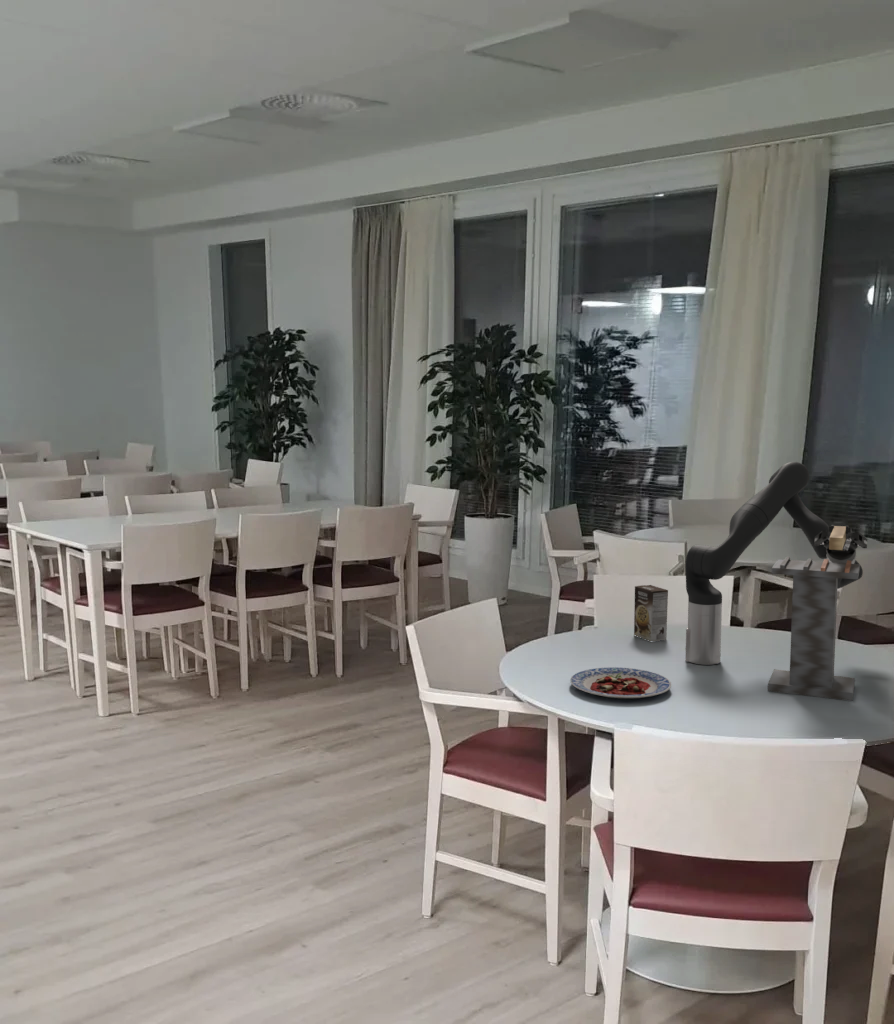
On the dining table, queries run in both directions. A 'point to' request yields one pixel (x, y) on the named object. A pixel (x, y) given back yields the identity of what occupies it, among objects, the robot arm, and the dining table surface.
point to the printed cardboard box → (650, 612)
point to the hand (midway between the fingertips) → (839, 528)
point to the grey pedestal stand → (813, 630)
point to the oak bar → (837, 538)
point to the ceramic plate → (620, 682)
